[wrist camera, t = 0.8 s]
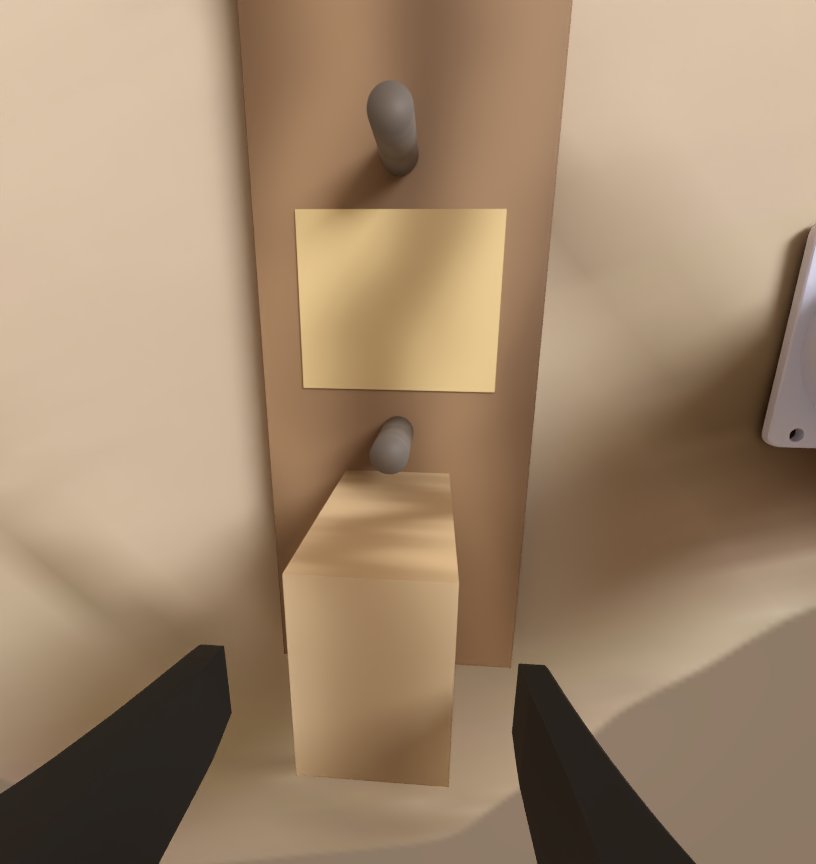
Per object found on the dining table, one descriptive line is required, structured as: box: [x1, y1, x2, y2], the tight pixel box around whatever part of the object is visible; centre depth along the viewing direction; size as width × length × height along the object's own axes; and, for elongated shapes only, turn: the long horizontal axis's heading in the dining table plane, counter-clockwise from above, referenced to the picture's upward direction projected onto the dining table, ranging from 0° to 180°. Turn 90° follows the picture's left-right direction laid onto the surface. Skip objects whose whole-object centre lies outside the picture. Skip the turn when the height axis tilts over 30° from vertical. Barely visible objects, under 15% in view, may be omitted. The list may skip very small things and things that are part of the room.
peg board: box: [237, 0, 572, 668], centre depth 14 cm, size 10×30×4 cm, turn 179°
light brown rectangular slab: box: [282, 470, 459, 787], centre depth 13 cm, size 4×6×7 cm
